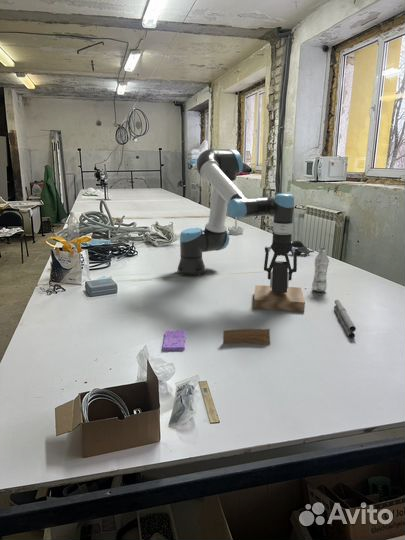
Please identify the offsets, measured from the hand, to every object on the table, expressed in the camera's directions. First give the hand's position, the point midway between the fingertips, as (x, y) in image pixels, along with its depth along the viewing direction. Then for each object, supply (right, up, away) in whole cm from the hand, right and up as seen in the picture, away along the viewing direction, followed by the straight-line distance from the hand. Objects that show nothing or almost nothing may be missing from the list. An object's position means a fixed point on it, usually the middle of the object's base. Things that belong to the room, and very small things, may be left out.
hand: (278, 286), depth 155 cm
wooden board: (0, -6, +2) cm, 7 cm away
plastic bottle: (+22, -3, +15) cm, 26 cm away
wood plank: (-18, -17, -34) cm, 42 cm away
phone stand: (0, -1, 0) cm, 1 cm away
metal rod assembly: (+20, -13, -18) cm, 30 cm away
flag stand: (-5, +37, +149) cm, 153 cm away
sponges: (-41, -17, -32) cm, 55 cm away
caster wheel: (+31, +17, +81) cm, 88 cm away
